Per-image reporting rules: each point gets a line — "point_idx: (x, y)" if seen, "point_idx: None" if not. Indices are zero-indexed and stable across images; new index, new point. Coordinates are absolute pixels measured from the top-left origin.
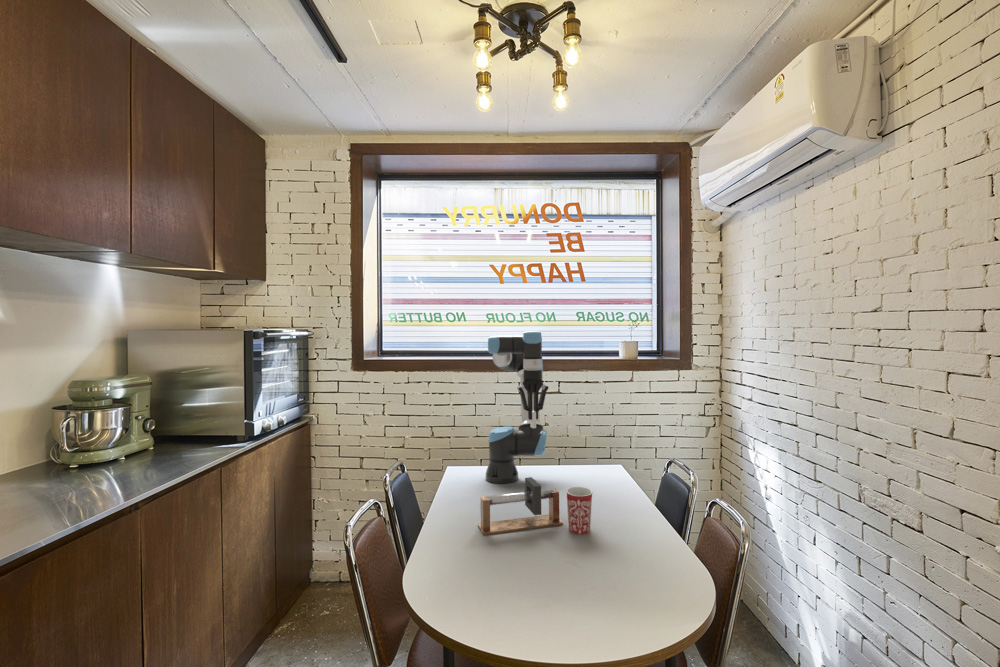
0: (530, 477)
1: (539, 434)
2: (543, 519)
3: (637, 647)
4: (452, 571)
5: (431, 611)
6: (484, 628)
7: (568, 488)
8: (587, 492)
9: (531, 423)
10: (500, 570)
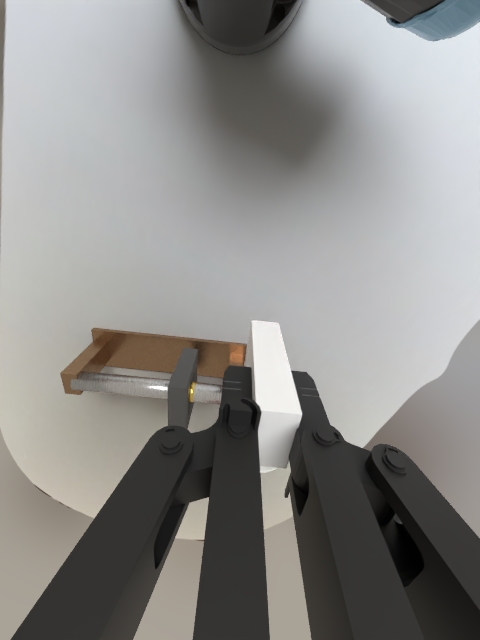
0: (182, 390)
1: None
2: (215, 358)
3: (186, 535)
4: (49, 427)
5: (32, 471)
6: (80, 497)
7: None
8: None
9: (249, 356)
10: (109, 442)
